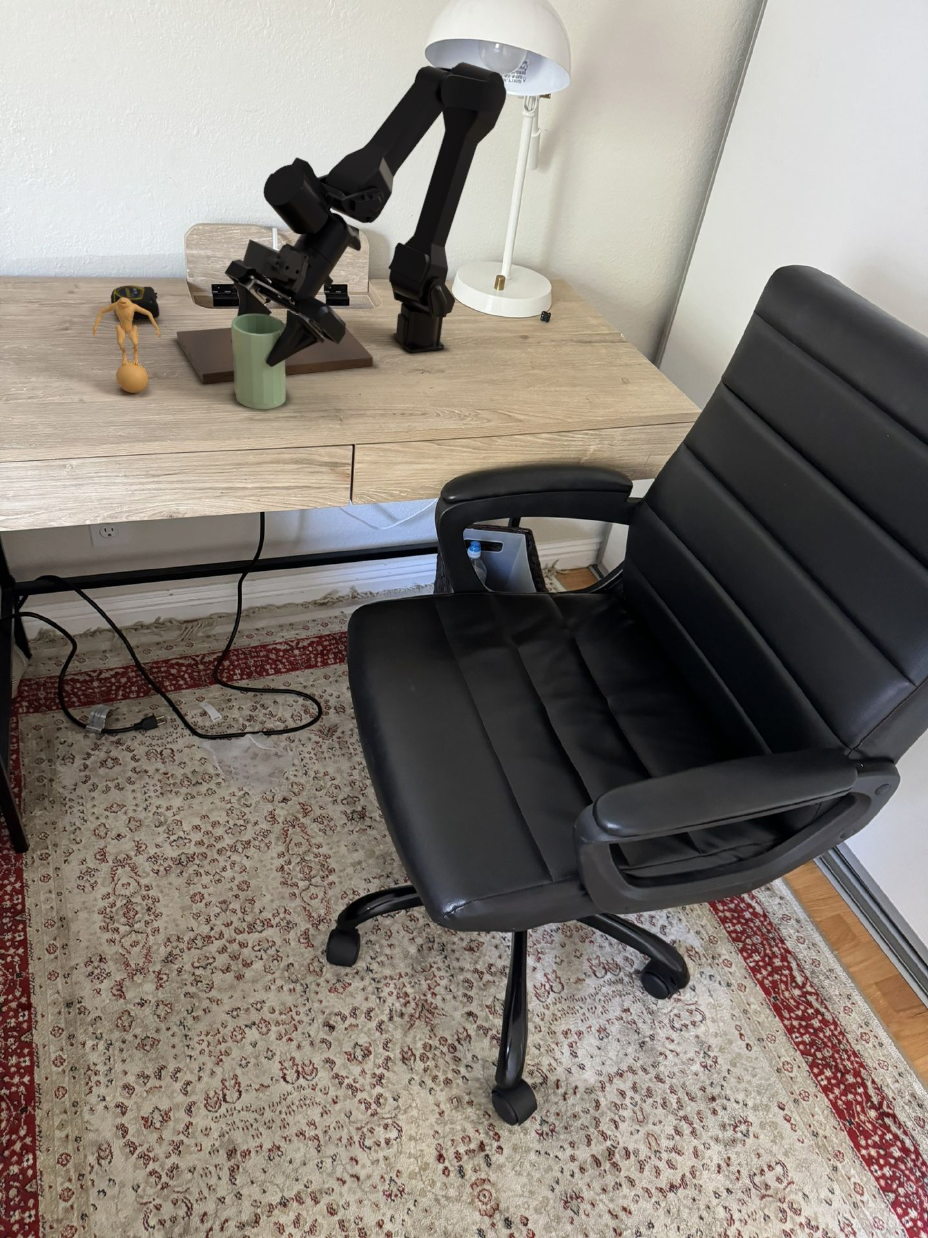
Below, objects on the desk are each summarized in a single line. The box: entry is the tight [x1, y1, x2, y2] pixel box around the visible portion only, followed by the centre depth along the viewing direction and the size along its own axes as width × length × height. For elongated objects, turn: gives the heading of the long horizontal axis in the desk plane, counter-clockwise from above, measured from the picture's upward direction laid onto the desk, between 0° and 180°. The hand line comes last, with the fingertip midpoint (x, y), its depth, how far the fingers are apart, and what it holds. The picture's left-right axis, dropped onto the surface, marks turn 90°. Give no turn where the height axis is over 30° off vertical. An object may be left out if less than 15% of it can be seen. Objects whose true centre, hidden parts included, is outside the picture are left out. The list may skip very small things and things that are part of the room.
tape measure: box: [110, 284, 160, 321], centre depth 125 cm, size 7×7×4 cm
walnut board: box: [176, 322, 374, 385], centre depth 122 cm, size 26×14×2 cm, turn 118°
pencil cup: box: [230, 313, 287, 410], centre depth 109 cm, size 7×7×10 cm
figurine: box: [92, 297, 162, 394], centre depth 106 cm, size 8×6×12 cm
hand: (250, 354), depth 107 cm, fingers closed on pencil cup, 7 cm apart
